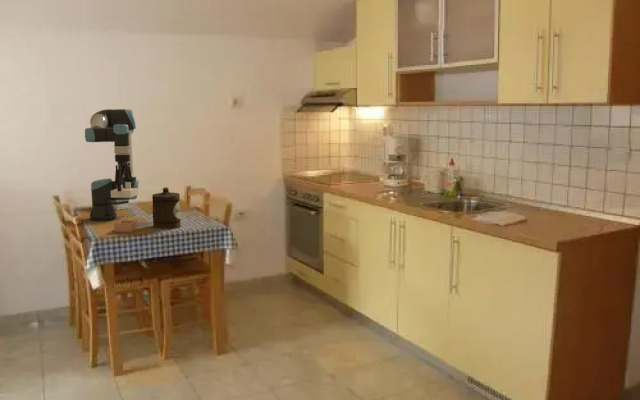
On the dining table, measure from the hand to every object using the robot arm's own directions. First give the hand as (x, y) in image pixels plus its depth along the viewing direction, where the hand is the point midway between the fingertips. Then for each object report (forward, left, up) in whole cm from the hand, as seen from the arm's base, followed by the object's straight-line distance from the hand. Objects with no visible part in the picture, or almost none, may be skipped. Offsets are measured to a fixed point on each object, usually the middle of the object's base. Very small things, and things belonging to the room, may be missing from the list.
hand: (124, 195), depth 317 cm
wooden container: (+18, +13, -20) cm, 30 cm away
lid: (0, 0, 0) cm, 0 cm away
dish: (0, 0, -19) cm, 19 cm away
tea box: (-34, +68, -20) cm, 79 cm away
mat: (+1, +16, -19) cm, 25 cm away
